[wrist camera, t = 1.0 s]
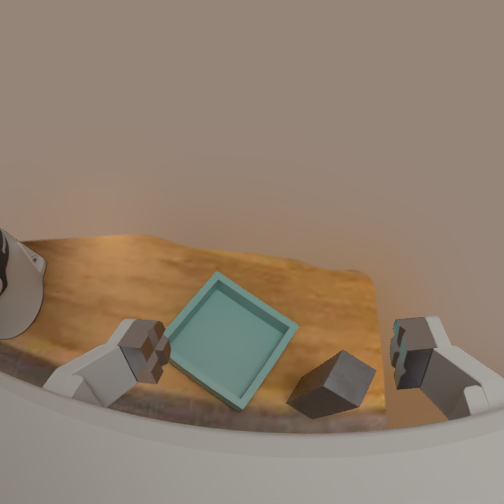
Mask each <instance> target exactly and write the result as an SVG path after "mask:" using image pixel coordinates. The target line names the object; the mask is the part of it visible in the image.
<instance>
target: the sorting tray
mask: <svg viewBox="0 0 504 504" xmlns="http://www.w3.org/2000/svg"><path fill="white" fill-rule="evenodd" d="M298 327H299V325H297V324H296V323H294V322H293V321H291V320H290V319H288V318H287V317H285V316H284V315H282V314H280V313H279V312H277V311H276V310H274V309H273V308H271V307H270V306H268V305H267V304H265V303H264V302H262V301H261V300H259V299H258V298H256V297H255V296H253V295H252V294H250V293H249V292H247V291H246V290H244V289H243V288H241V287H240V286H238V285H237V284H235V283H234V282H233V281H231V280H230V279H228V278H227V277H225V276H224V275H222V274H221V273H219V272H218V271H216V272H215V273H214V275H213V276H212V277H211V278H210V279H209V280H208V281H207V282H206V284H205V285H204V286H203V287H202V288H201V289H200V290H199V292H198V293H197V294H196V295H195V296H194V297H193V298H192V300H191V301H190V302H189V303H188V304H187V305H186V306H185V308H184V309H183V310H182V311H181V312H180V313H179V314H178V316H177V317H176V318H175V319H174V320H173V321H172V322H171V324H170V325H169V326H168V327H167V328H166V329H165V332H164V335H165V336H166V337H167V338H168V339H169V342H170V345H171V354H170V359H169V361H168V362H169V363H170V364H172V365H173V366H174V367H176V368H177V369H178V370H180V371H181V372H182V373H184V374H185V375H186V376H188V377H189V378H190V379H192V380H193V381H194V382H196V383H197V384H199V385H200V386H201V387H203V388H204V389H206V390H207V391H208V392H210V393H211V394H213V395H214V396H216V397H217V398H218V399H220V400H221V401H223V402H224V403H226V404H227V405H229V406H230V407H232V408H233V409H235V410H236V411H238V412H240V411H242V410H243V409H244V408H245V406H246V405H247V404H248V402H249V401H250V399H251V398H252V397H253V395H254V394H255V392H256V391H257V389H258V388H259V386H260V385H261V383H262V382H263V381H264V379H265V378H266V376H267V375H268V373H269V372H270V370H271V369H272V367H273V366H274V364H275V363H276V361H277V360H278V358H279V357H280V355H281V354H282V352H283V350H284V349H285V347H286V346H287V344H288V343H289V341H290V340H291V338H292V336H293V335H294V333H295V332H296V330H297V329H298Z"/></svg>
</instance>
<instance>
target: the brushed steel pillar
mask: <svg viewBox="0 0 504 504" xmlns="http://www.w3.org/2000/svg"><path fill="white" fill-rule="evenodd" d="M375 373H376V370H375V369H373V368H371V367H370V366H368V365H367V364H365V363H363V362H362V361H360V360H358V359H357V358H355V357H354V356H352V355H350V354H349V353H347V352H346V351H344V350H342V351H340V352H339V353H337V354H336V355H335V356H333V357H332V358H330V359H329V360H327V361H326V362H324V363H323V364H321V365H320V366H318V367H317V368H315V369H314V370H312V371H311V372H309V373H308V374H306V375H305V376H303V377H302V378H301V380H300V381H299V383H298V385H297V386H296V388H295V389H294V391H293V393H292V394H291V396H290V397H289V399H288V401H287V402H286V404H288V405H290V406H291V407H293V408H295V409H296V410H298V411H300V412H301V413H303V414H305V415H306V416H308V417H310V418H312V419H315V418H320V417H324V416H328V415H332V414H336V413H340V412H343V411H347V410H351V409H354V408H358V407H360V405H361V403H362V400H363V398H364V396H365V394H366V392H367V390H368V388H369V386H370V384H371V381H372V379H373V377H374V375H375Z"/></svg>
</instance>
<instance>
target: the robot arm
mask: <svg viewBox="0 0 504 504" xmlns="http://www.w3.org/2000/svg"><path fill="white" fill-rule="evenodd" d="M34 261H36V262H34ZM45 269H46V261H45V260H44V259H43V258H42V257H41V256H39V255H38V254H37V253H35V252H34V251H32V250H31V249H29V248H28V247H26V246H25V245H24V244H22V243H21V242H19V241H18V240H17V239H15V238H14V237H12V236H11V235H10V234H8V233H7V232H6V231H4V230H3V229H0V339H8V338H12V337H15V336H17V335H19V334H21V333H22V332H23V331H25V330H26V329H27V328H28V327H29V326H30V324H31V323H32V322H33V321H34V319H35V317H36V316H37V314H38V311H39V309H40V306H41V303H42V297H43V282H42V279H43V275H44V272H45ZM393 330H394V334H395V336H394V337H393V338H392V339H391V345H390V360H391V365H392V366H393V367H394V368H395V371H394V379H395V384H396V389H397V390H399V389H412V388H420V389H421V390H422V391H423V393H425V394H426V396H427V397H428V398H429V399H430V400H431V401H432V402H433V403H434V404H435V405H436V406H437V407H438V408H439V409H440V411H442V413H443V414H444V415H445V416H446V417H447V418H448V421H443V422H437V423H431V424H425V425H419V426H412V427H404V428H396V429H387V430H376V431H364V432H348V433H316V434H298V433H266V432H250V431H237V430H227V429H217V428H209V427H201V426H194V425H187V424H181V423H174V422H169V421H163V420H158V419H152V418H147V417H143V416H138V415H133V414H129V413H124V412H120V411H116V410H112V409H108V408H106V407H108V406H109V405H110V404H111V403H113V402H114V401H115V400H117V399H118V398H119V397H120V396H122V395H123V394H124V393H125V392H127V391H128V390H129V389H130V388H132V387H133V386H134V385H135V384H137V382H143V383H151V384H157V383H158V381H159V379H160V377H161V375H162V373H163V369H162V366H164V365H165V364H167V363H168V361H169V359H170V354H171V345H170V342H169V339H168V338H167V337H166V336H165V335H164V332H165V328H164V325H163V323H162V322H160V321H153V320H141V319H128V318H127V319H124V320H123V321H122V322H121V324H120V325H119V326H118V328H117V329H116V330H115V332H114V333H113V334H112V336H111V337H110V338H109V340H108V341H107V343H106V344H101V345H99V346H97V347H96V348H94V349H92V350H90V351H88V352H86V353H85V354H83V355H81V356H79V357H77V358H75V359H74V360H72V361H70V362H68V363H66V364H64V365H62V366H61V367H59V368H57V369H56V370H55V371H54V372H53V374H52V375H51V376H50V378H49V379H48V380H47V382H46V383H45V384H44V386H43V387H42V388H40V387H38V386H35V385H32V384H30V383H27V382H25V381H22V380H19V379H17V378H15V377H12V376H10V375H7V374H5V373H3V372H0V504H504V379H503V378H502V377H501V376H499V375H498V374H496V373H495V372H493V371H492V370H491V369H489V368H488V367H486V366H484V365H483V364H482V363H480V362H479V361H477V360H476V359H475V358H473V357H472V356H470V355H469V354H467V353H466V352H464V351H463V350H461V349H460V348H458V347H457V346H452V345H451V343H450V341H449V339H448V336H447V334H446V332H445V330H444V328H443V326H442V324H441V321H440V319H439V317H438V316H437V315H433V316H424V317H418V318H407V319H396V320H395V322H394V327H393Z"/></svg>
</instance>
